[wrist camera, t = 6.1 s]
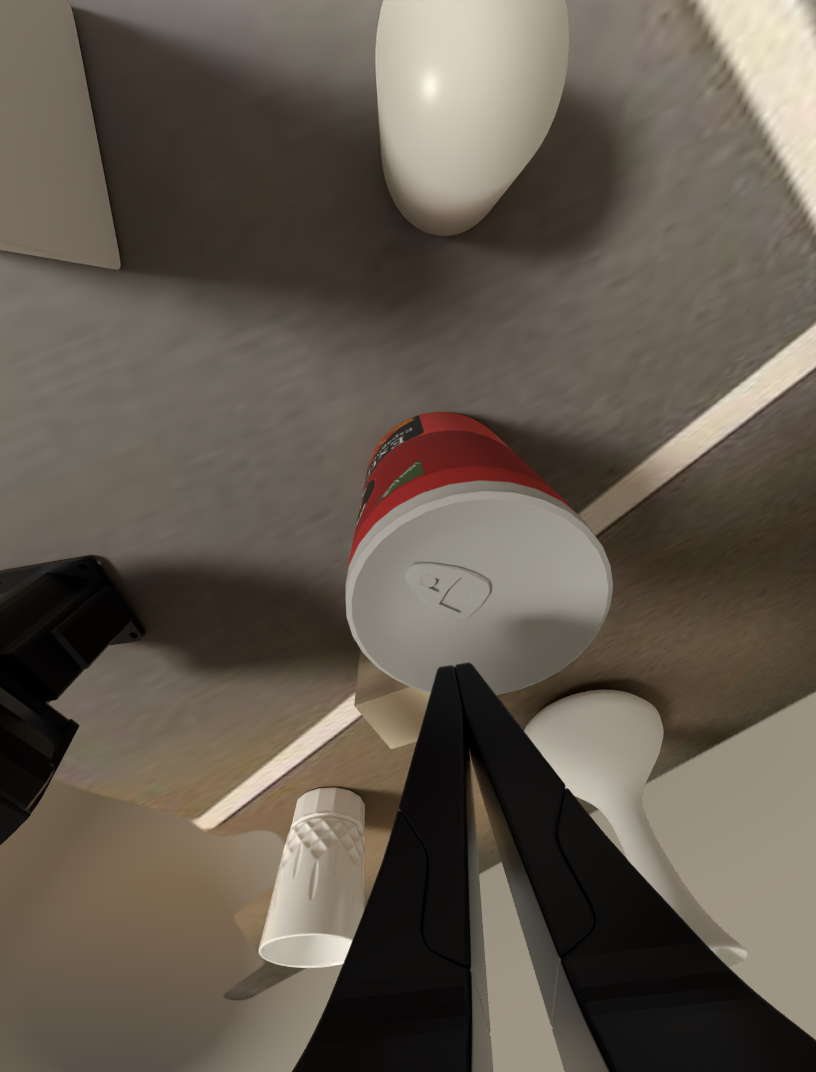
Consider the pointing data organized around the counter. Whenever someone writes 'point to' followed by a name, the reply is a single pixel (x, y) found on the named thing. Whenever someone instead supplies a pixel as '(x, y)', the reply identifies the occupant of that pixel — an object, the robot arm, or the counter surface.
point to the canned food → (469, 561)
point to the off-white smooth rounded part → (464, 101)
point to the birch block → (389, 704)
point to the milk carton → (49, 141)
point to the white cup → (318, 882)
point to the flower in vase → (622, 787)
